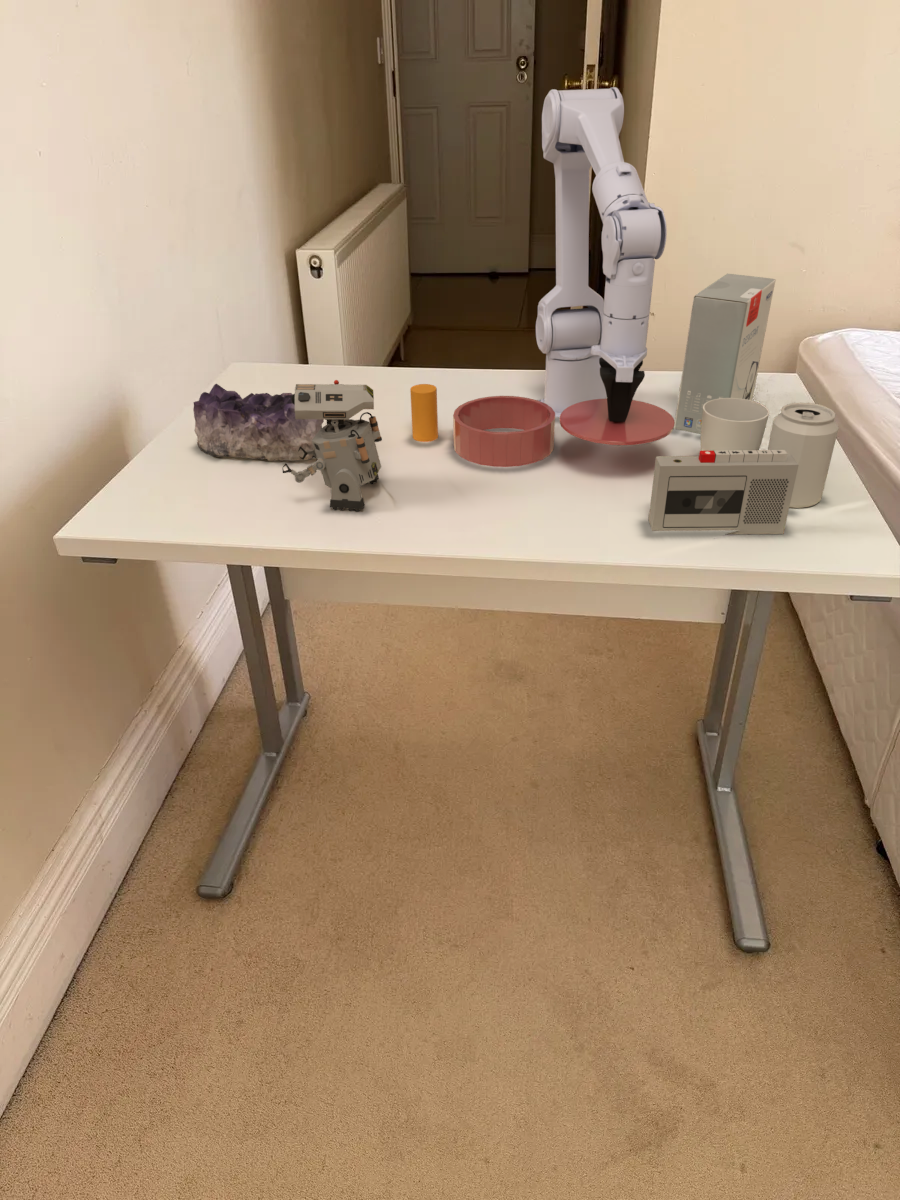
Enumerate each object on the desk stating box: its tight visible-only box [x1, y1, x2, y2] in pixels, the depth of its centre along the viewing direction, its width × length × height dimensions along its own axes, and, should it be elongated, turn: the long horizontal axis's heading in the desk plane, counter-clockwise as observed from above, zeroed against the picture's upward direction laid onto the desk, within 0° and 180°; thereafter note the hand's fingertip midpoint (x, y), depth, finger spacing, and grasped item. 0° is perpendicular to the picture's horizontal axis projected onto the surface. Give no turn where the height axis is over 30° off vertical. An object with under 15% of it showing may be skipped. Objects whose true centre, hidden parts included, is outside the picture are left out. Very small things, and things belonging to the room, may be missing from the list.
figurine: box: [281, 379, 383, 512], centre depth 110 cm, size 9×12×15 cm
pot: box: [452, 395, 556, 468], centre depth 124 cm, size 14×14×5 cm
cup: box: [699, 398, 770, 451], centre depth 112 cm, size 8×8×10 cm
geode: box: [192, 383, 325, 462], centre depth 124 cm, size 20×12×10 cm, turn 84°
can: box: [767, 402, 840, 509], centre depth 107 cm, size 8×8×12 cm
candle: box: [409, 383, 439, 443], centre depth 126 cm, size 4×4×8 cm
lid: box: [559, 399, 675, 446], centre depth 115 cm, size 15×15×5 cm
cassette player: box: [648, 449, 799, 535], centre depth 101 cm, size 16×3×10 cm, turn 89°
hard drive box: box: [673, 273, 777, 435], centre depth 127 cm, size 16×8×20 cm, turn 148°
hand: (616, 416), depth 115 cm, fingers closed on lid, 2 cm apart
